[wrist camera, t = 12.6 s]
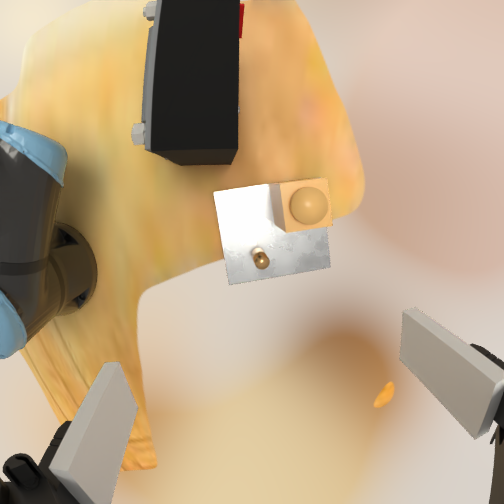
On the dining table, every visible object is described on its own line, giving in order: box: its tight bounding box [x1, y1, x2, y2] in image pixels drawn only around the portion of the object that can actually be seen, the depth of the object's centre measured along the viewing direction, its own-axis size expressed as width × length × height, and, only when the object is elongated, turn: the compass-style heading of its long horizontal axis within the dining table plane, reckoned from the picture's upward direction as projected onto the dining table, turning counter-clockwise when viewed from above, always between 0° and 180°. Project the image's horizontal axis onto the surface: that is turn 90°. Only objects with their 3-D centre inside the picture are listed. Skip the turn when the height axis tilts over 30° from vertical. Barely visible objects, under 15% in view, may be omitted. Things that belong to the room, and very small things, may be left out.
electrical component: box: [131, 0, 244, 166], centre depth 32 cm, size 18×10×20 cm, turn 0°
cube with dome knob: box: [269, 178, 333, 233], centre depth 41 cm, size 6×6×10 cm
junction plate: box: [214, 184, 330, 285], centre depth 47 cm, size 16×14×1 cm
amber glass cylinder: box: [251, 248, 270, 270], centre depth 44 cm, size 2×2×5 cm
